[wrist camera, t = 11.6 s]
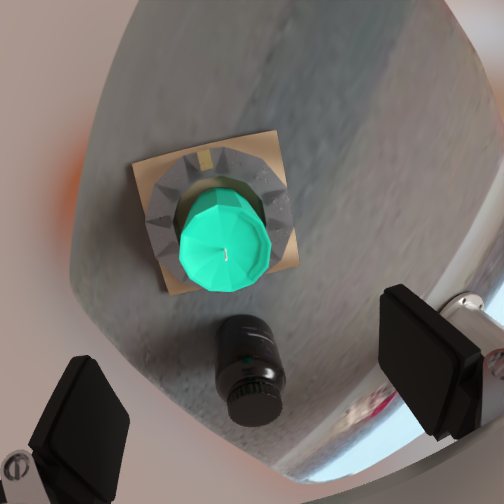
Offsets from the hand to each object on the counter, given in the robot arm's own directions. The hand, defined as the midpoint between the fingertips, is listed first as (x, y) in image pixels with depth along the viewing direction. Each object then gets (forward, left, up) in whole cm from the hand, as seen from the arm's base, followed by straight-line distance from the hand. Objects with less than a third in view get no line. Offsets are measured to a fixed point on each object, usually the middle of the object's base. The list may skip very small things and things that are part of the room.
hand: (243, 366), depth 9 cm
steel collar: (0, 0, -23) cm, 23 cm away
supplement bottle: (-15, +1, -23) cm, 27 cm away
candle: (0, 0, -22) cm, 22 cm away
